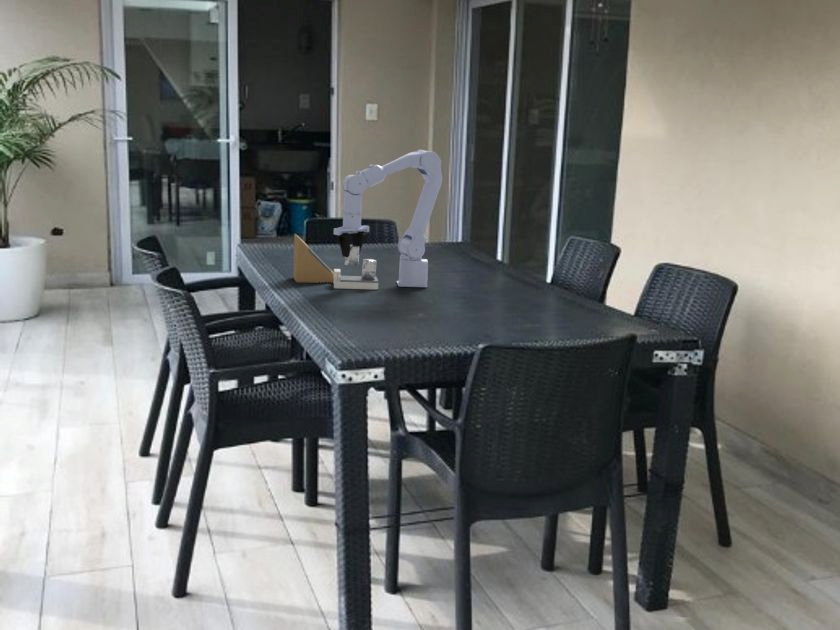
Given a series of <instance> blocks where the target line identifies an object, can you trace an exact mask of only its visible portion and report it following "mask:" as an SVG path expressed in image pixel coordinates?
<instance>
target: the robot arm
mask: <svg viewBox="0 0 840 630" xmlns="http://www.w3.org/2000/svg"><path fill="white" fill-rule="evenodd" d="M442 163H443V162H442V160H441V158H440V156H439V155H438V154H437V153H436V152H435V151H433V150H432V151H431V150H424V149H417V150H415V151H411V152H409V153H406V154H403V155H402V156H400V157H398V158H395V159H394V160H391V161H390V162H388V163H386V164H383V165H378V164H372V163H371V164H369V165H368V167H366V168H365V169H363V170H357V171H355V174H348V175H346V176H345V177H344V178H343V181H342V183H341V186H342V189H343V213H342V214H343V215H342V216H343V217H342V226H340V227H335V228H333V235H334V236H335V237H336V240H337V241H338V244H339V247H340V249H341V255H342V257H344V258H345V257H349V251H350V245H358V246H359V255H360V253H361V251H362V247H363V245H364V243H365V240H366V239H367V237H368V233H370V225H362V210H363V207H362V206H363V193H364V191H365V190H366V189H369V188H372V187H374V186H376V185H378V184H380V183H382V182H384V181H385V179H386V177H387V176H389V175H391V174H394V173H396V172H399V171H403V170H405V169H407V168H413V169H416V171H418V172H419V173H420V174H421V176H422V178H423V180H424V185H423V187H422V190H421V193H420V195H419V199H418V201H417V204H416V207H415V210H414V213H413V215H412V219H411V221H410V224H409V225H410V226H409V227H408V228H407V229H406V230H405V231H404V233H403V236H402V237H401V238H400V239H399V240H398V242H397V249H398V251H399V253H400V255H399V266H398V268H399V269H398V280H396V284H397V286H398V287H401V288H402V287H406V288H428V281H429V280H428V277H429V275H428V274H429V261H428V259H426V258H423V256H424V254H425V251H426V241H427V238H426V233H425V232H426V230H427V227H428V225H429V222H430V219H431V216H432V213H433V209H434V206H435V204H436V201H437V199H438V198H437V197H438V195H439V192H440V190H441V187H442V184H443V173H442ZM349 234H350V235H349ZM351 243H352V244H351Z"/></svg>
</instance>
